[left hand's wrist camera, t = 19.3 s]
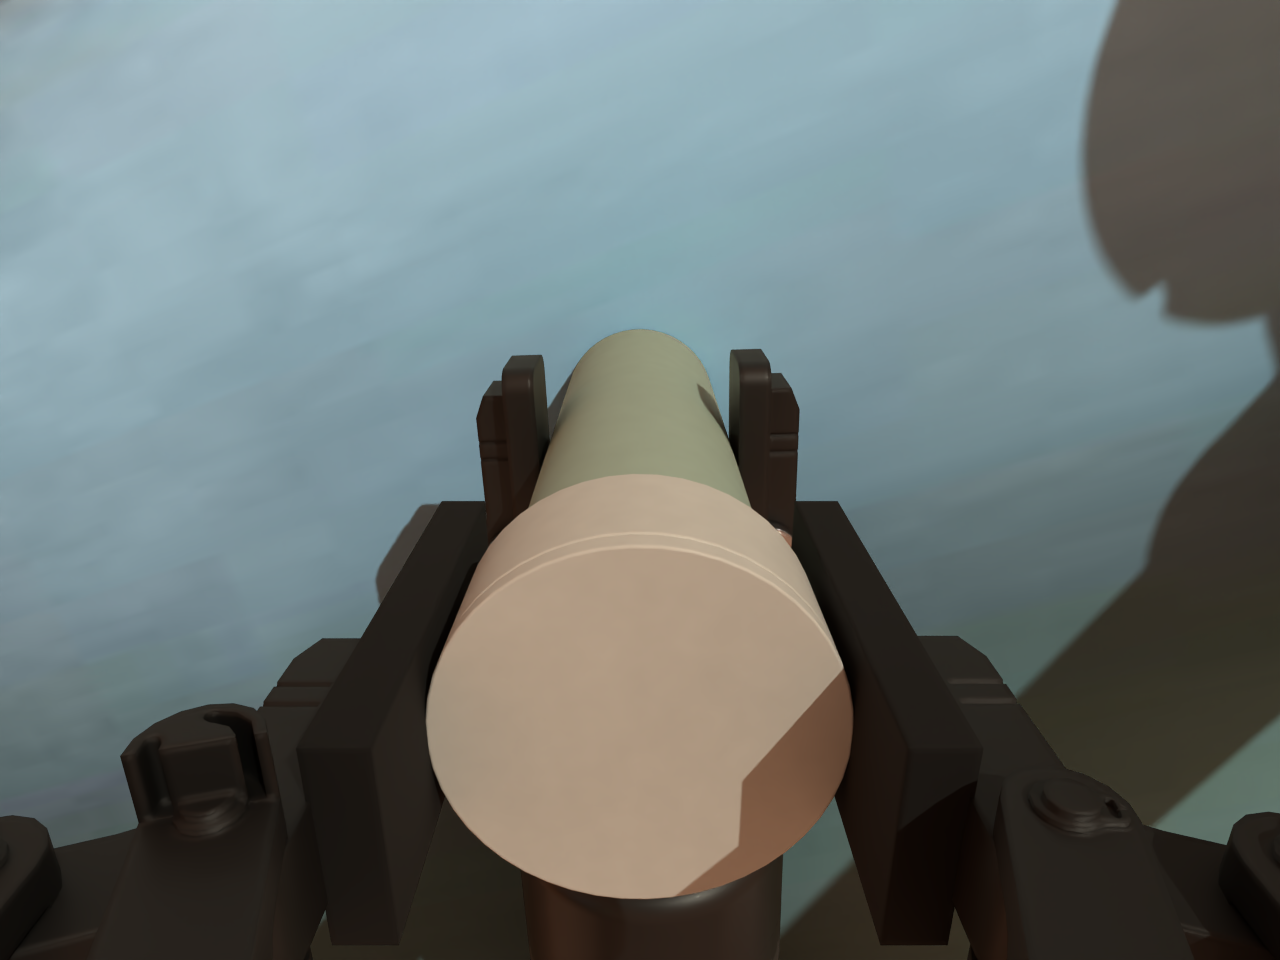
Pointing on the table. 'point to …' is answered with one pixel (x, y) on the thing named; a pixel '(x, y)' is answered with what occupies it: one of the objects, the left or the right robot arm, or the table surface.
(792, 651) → the lid
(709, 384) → the jar
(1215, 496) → the table surface
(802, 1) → the table surface
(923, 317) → the table surface
